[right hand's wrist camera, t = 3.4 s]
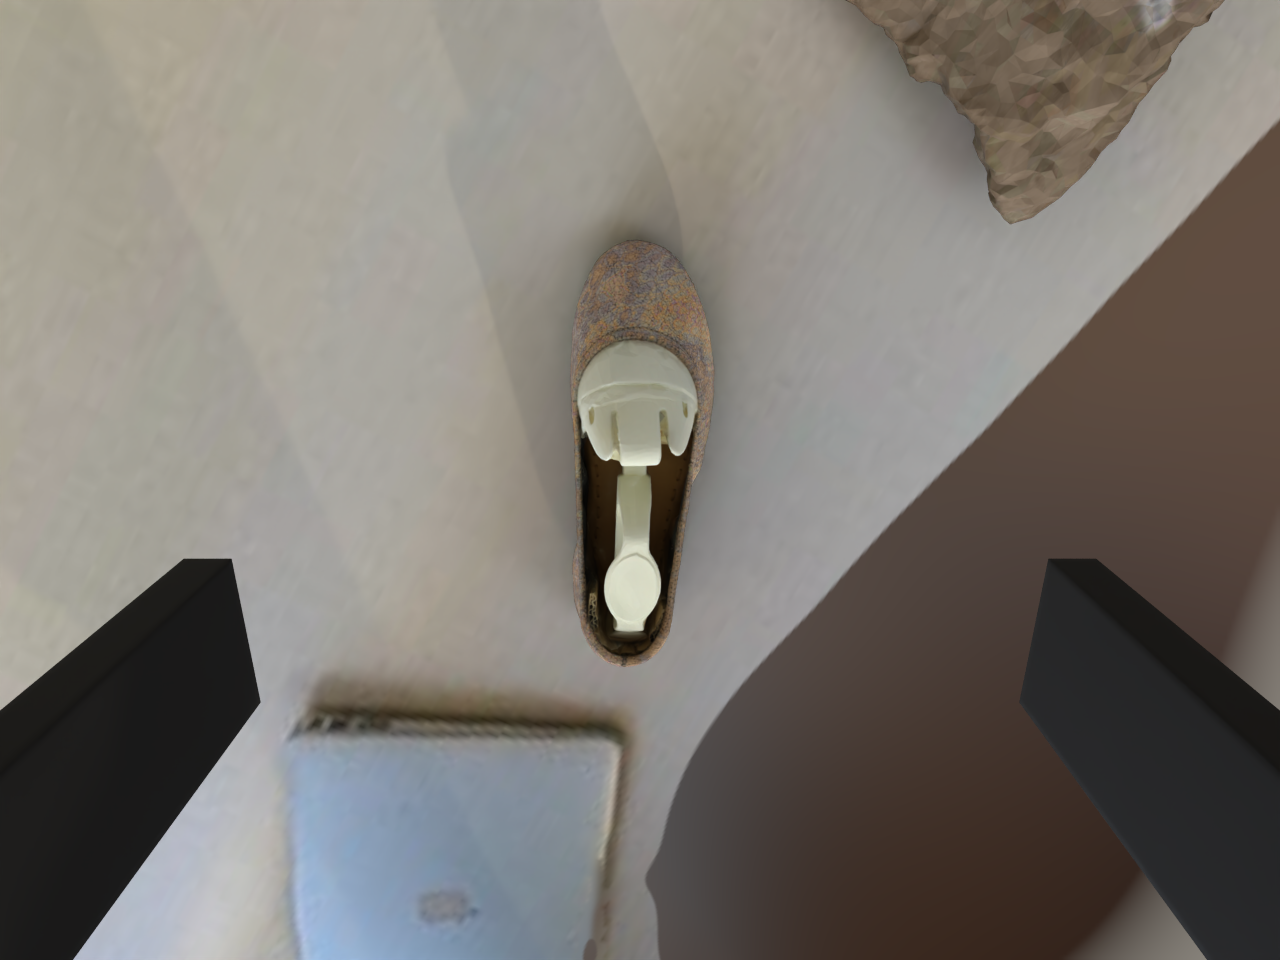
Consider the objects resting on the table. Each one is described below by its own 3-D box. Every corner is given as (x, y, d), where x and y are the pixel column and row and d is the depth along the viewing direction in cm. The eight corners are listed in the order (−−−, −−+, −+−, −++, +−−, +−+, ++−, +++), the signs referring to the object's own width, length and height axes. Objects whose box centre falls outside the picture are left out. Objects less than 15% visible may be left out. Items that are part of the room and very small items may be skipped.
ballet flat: (716, 238, 44) (733, 251, 36) (703, 625, 52) (714, 703, 45) (564, 238, 44) (548, 250, 36) (577, 625, 52) (566, 703, 45)
